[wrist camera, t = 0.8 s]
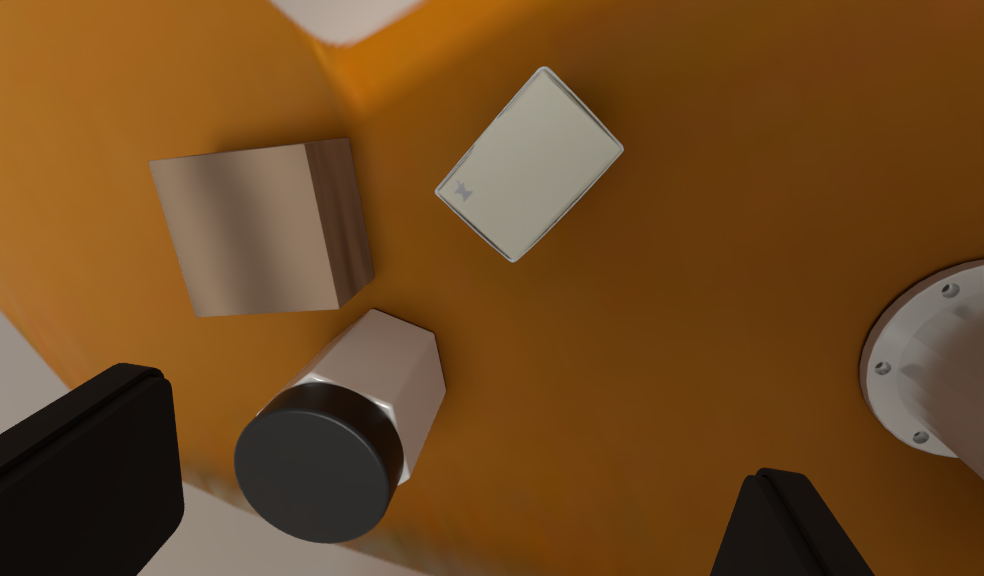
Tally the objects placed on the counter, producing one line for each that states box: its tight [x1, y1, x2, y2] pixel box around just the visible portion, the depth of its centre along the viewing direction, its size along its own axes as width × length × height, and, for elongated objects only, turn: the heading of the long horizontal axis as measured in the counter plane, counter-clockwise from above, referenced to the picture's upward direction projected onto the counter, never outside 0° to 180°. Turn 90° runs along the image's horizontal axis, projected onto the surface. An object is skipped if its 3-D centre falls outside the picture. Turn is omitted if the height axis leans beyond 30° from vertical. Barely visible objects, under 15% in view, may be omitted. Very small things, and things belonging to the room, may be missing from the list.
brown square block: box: [148, 137, 375, 317], centre depth 31 cm, size 9×9×6 cm
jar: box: [234, 309, 446, 544], centre depth 31 cm, size 9×8×12 cm
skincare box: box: [435, 66, 624, 262], centre depth 25 cm, size 6×4×12 cm
